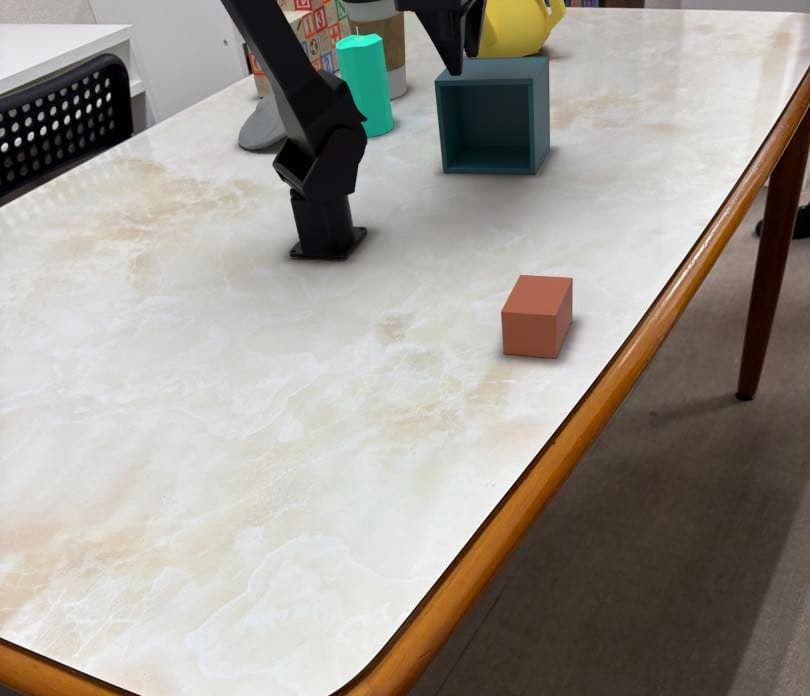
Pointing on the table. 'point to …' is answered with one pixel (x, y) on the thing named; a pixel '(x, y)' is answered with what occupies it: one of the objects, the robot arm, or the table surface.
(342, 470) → the table surface
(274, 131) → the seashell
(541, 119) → the open box
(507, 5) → the teapot
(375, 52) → the candle
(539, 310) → the reddish brown block
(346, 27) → the stack of blocks
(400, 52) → the coffee cup
